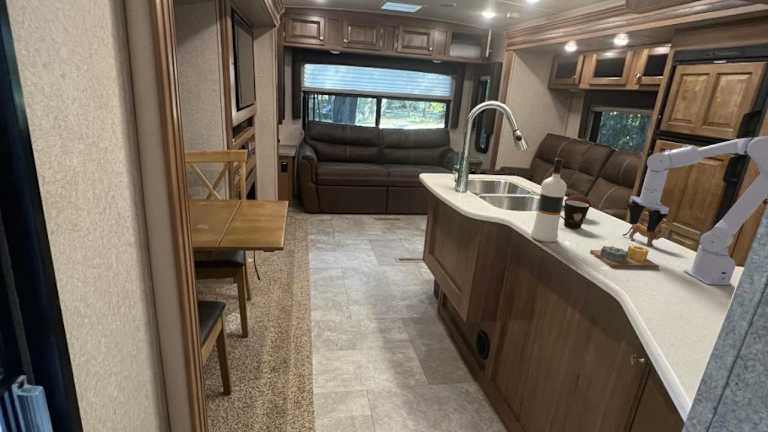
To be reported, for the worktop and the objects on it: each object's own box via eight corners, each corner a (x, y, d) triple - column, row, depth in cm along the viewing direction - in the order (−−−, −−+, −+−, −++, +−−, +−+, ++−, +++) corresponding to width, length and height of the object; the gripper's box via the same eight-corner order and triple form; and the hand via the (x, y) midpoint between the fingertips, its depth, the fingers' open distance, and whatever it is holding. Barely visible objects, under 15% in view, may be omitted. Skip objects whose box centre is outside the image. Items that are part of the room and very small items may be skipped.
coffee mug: (584, 226, 169) (589, 203, 166) (581, 231, 162) (587, 207, 159) (555, 220, 175) (560, 198, 172) (551, 225, 168) (556, 202, 165)
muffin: (581, 222, 175) (586, 199, 172) (556, 215, 183) (561, 194, 180) (592, 218, 183) (597, 196, 180) (568, 211, 191) (572, 191, 188)
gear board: (658, 269, 129) (661, 257, 128) (611, 267, 127) (614, 255, 126) (633, 254, 141) (636, 243, 139) (589, 253, 139) (592, 241, 138)
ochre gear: (649, 260, 133) (652, 250, 132) (639, 262, 130) (642, 252, 129) (632, 253, 138) (635, 244, 137) (623, 256, 135) (625, 246, 134)
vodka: (525, 235, 153) (539, 156, 144) (545, 233, 156) (560, 156, 147) (541, 243, 145) (558, 160, 136) (562, 242, 148) (579, 161, 139)
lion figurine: (665, 248, 150) (672, 225, 147) (659, 250, 147) (666, 227, 144) (625, 235, 161) (630, 214, 159) (618, 237, 158) (624, 215, 156)
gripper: (681, 195, 127) (669, 235, 131) (646, 184, 141) (636, 221, 145) (661, 194, 126) (650, 235, 130) (628, 183, 140) (619, 220, 144)
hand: (641, 227), depth 137 cm, fingers open, 7 cm apart
